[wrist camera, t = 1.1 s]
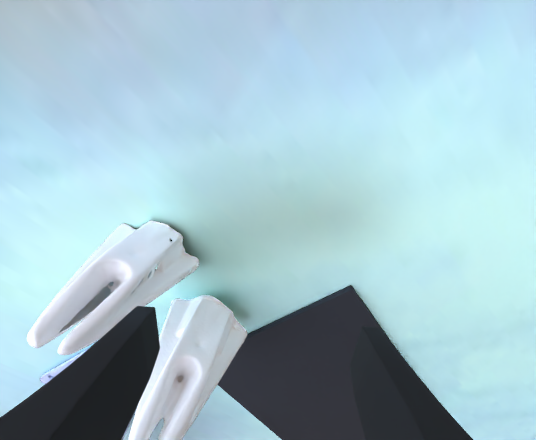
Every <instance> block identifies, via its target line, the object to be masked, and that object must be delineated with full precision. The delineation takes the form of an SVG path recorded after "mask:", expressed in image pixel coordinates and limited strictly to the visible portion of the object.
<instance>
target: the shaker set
mask: <svg viewBox="0 0 536 440" xmlns="http://www.w3.org/2000/svg"><path fill="white" fill-rule="evenodd" d="M170 240H172V242H170ZM182 242H183V236H182V235H181V234H180V233H178V232H176V231H175V230H174V229H172V228H171V227H169V225H168V224H164V223H160V222H157V223H156V222H155V221H151V220H150V221H149V222H147V223H145V224H143V225H142V226H141V227H140V228H138V229H134V228H132V227H130V226H128V225H126V224H121V225H119V226H118V228H117V229H115V230H114V231H113V232H112V234H111V235H110V236H109V237H108V238H107V239H106V240H105V241H104V242H103V243H102V244H101V245H100V246H99V247H98V248H97V250H96V251H95V252H94V253H93V254H92V255H91V256H90V257H89V258H88V259H87V261H86V262H85V263H84V264H83V265H82V266H81V267H80V269H79V270H78V271H77V272H76V273H75V274H74V275H73V277H72V278H71V279H70V280H69V281H68V282H67V283H66V284H65V286H64V287H63V288H62V289H61V290H60V291H59V292H58V294H57V295H56V296H55V297H54V299H53V300H52V301H51V303H50V304H49V305H48V307H47V308H46V309H45V310H44V312H43V313H42V314H41V315H40V317H39V318H38V319H37V321H36V322H35V324H34V325H33V327H32V328H31V330H30V331H29V333H28V335H27V341H28V343H29V344H30V345H31V346H32V347H35V348H40V347H42V346H43V345H45V344H47V343H48V342H50V341H51V340H53V339H55V338H56V337H58V336H59V335H61V334H63V333H64V332H66V331H67V330H69V329H70V328H71V327H73V326H74V325H76V324H77V323H79V322H80V321H81V320H83V319H84V318H85V319H84V320H83V321H81V322H80V323H79V324H78V325H77V326H76V327H75V328H74V329H73V330H72V331H71V332H70V333H69V334H68V335H67V336H66V337H65V339H64V340H63V341H62V342H61V344H60V346H59V348H58V353H59V354H60V355H69V354H72V353H75V352H77V351H79V350H81V349H83V348H85V347H87V346H89V345H90V344H92V343H94V342H96V341H97V340H99V339H100V338H102V337H103V336H104V335H105V334H106V333H107V332H108V331H110V330H111V329H112V328H113V327H114V326H115V325H116V324H117V323H118V322H120V321H121V320H122V319H123V318H124V317H125V316H126V315H127V314H128V313H130V312H131V311H132V310H133V309H134V308H135V307H137V306H146V305H147V304H149V303H150V302H151V301H153V300H154V299H156V298H157V297H159V296H160V295H162V294H163V293H164V292H166V291H167V290H169V289H170V288H171V287H173V286H174V285H175V284H177V283H178V282H180V281H181V280H183V279H184V278H185V277H186V276H188V275H190V274H191V273H193V272H194V271H195V270H196V268H197V267H199V266H198V265H199V260H198V258H197V257H194V256H191V255H189V254H188V253H186V252H185V248H184V247H183V245H182ZM158 262H159V263H158ZM157 264H158V267H157V269H155V268H156V266H157ZM170 306H171V307H170V309H169V312H168V315H167V317H166V320H165V323H164V326H163V329H162V331H161V334H160V337H159V343H160V350H159V353H158V356H157V359H156V362H155V365H154V368H153V371H152V374H151V377H150V379H149V382H148V384H147V386H146V388H145V390H144V392H143V395H142V397H141V399H140V401H139V403H138V406H137V409H136V413H135V417H134V420H133V423H132V427H131V431H130V435H129V439H128V440H148V439H149V438H150V436H151V434H152V432H153V430H154V429H155V427H156V425H157V424H158V422H159V421H160V420H161V419H162V418H163V419H164V425H163V428H162V430H161V433H160V435H159V438H158V440H182V438H183V437H184V435H185V433H186V432H187V431H188V429H189V428H190V426H191V425H192V423H193V422H194V420H195V419H196V417H197V415H198V414H199V412H200V411H201V409H202V408H203V406H204V404H205V403H206V401H207V400H208V398H209V396H210V395H211V393H212V392H213V390H214V389H215V387H216V386H217V384H218V383H219V381H220V379H221V378H222V376H223V375H224V373H225V371H226V370H227V368H228V366H229V365H230V363H231V361H232V360H233V358H234V356H235V355H236V353H237V351H238V350H239V348H240V347H241V345H242V344H243V343H244V340H245V338H246V337H247V331H246V329H245V328H244V327H243V326H242V325H241V324H240V323H239V322H238V321H237V320H236V318H235V317H234V314H233V311H232V310H230V309H229V308H228V307H227V306H225V305H224V304H223V303H222V302H221V301H220V300H218V299H217V298H215V297H213V296H209V295H200V296H198V297H196V298H193V299H190V300H185V299H180V298H177V299H174V300H173V301H172V302H171V305H170Z"/></svg>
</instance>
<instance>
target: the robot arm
mask: <svg viewBox="0 0 536 440" xmlns="http://www.w3.org/2000/svg"><path fill="white" fill-rule="evenodd" d="M159 350H160V343H159V335H158V328H157V320H156V312H155V307H144V306H137V307H135V308H134V309H133V310H132V311H131V312H130V313H128V314H127V315H126V316H125V317H124V318H123V319H122V320H121V321H120V322H118V323H117V324H116V325H115V326H114V327H113V328H112V329H111V330H110V331H108V332H107V333H106V334H105V335H104V336H103V337H102V338H101V339H99V340H98V341H97V342H96V343H95V344H94V345H92V346H91V347H90V348H89V349H87V350H85V351H83V352H82V353H80V354H78V355H76V356H75V357H73V358H71V359H69V360H68V361H66V362H64V363H62V364H61V365H59V366H57V367H55V368H54V369H52V370H50V371H48V372H47V373H45V374H43V375H42V376H41V378H40V381H41V382H42V383H44V384H45V385H44V386H42V387H41V388H40V389H39V390H37V391H36V392H35V393H33V394H32V395H31V396H29V397H28V398H27V399H25V400H24V401H23V402H21V403H20V404H19V405H17V406H16V407H14V408H13V409H12V410H10V411H9V412H7V413H6V414H5V415H3V416H2V417H0V440H123V438H124V436H125V433H126V431H127V429H128V426H129V424H130V422H131V420H132V417H133V415H134V413H135V410H136V408H137V406H138V403H139V401H140V399H141V397H142V395H143V392H144V390H145V388H146V386H147V384H148V382H149V379H150V377H151V374H152V371H153V368H154V365H155V362H156V359H157V356H158V353H159ZM350 372H351V379H352V385H353V392H354V398H355V402H356V405H357V409H358V413H359V417H360V421H361V425H362V428H363V432H364V436H365V440H473V439H472V438H471V437H470V436H469V435H468V434H467V433H466V431H465V430H464V429H463V428H462V427H461V426H460V425H459V424H458V423H457V421H456V420H455V419H454V418H453V417H452V416H451V415H450V414H449V413H448V411H447V410H446V409H445V408H444V407H443V406H442V405H441V403H440V402H439V401H438V400H437V399H436V398H435V396H434V395H433V394H432V393H431V392H430V390H429V389H428V388H427V387H426V385H425V384H424V383H423V382H422V381H421V379H420V378H419V377H418V376H417V375H416V373H415V372H414V371H413V370H412V368H411V367H410V366H409V364H408V363H407V362H406V361H405V359H404V358H403V357H402V356H401V354H400V353H399V352H398V350H397V349H396V348H395V347H394V345H393V344H392V343H391V341H390V340H389V339H388V338H387V336H386V335H385V334H384V332H383V331H382V330H381V329H380V328H377V327H366V326H362V329H361V332H360V335H359V338H358V341H357V344H356V347H355V350H354V353H353V356H352V359H351V362H350Z"/></svg>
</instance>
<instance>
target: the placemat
mask: <svg viewBox="0 0 536 440" xmlns="http://www.w3.org/2000/svg"><path fill="white" fill-rule="evenodd" d="M362 326H366V327H377V328H380V329H381V330H382V328H381V327H380V325H379V324H378V323H377V321H376V320H375V318H374V317H373V316H372V314H371V313H370V311H369V310H368V308H367V307H366V306H365V304H364V303H363V301H362V300H361V298H360V297H359V296H358V294H357V293H356V291H355V290H354V288H353V287H352V286H349V287H346V288H344V289H342V290H340V291H338V292H336V293H334V294H332V295H330V296H328V297H325V298H323V299H321V300H319V301H317V302H315V303H313V304H311V305H309V306H306V307H304V308H302V309H300V310H298V311H296V312H294V313H292V314H290V315H288V316H285V317H283V318H281V319H279V320H277V321H275V322H273V323H271V324H269V325H266V326H264V327H262V328H260V329H258V330H256V331H254V332H252V333H250V334H248V335H247V337H246V338H245V340H244V343H243V344H242V345H241V347H240V348H239V350H238V351H237V353H236V355H235V356H234V358H233V360H232V361H231V363H230V365H229V366H228V368H227V370H226V371H225V373H224V375H223V376H222V378H221V379H220V381H219V383H218V385H219V386H220V387H221V388H222V389H223V390H225V391H226V392H227V393H228V394H229V395H230V396H232V397H233V398H234V399H235V400H236V401H237V402H239V403H240V404H241V405H242V406H243V407H244V408H246V409H247V410H248V411H249V412H250V413H251V414H253V415H254V416H255V417H256V418H257V419H259V420H260V421H261V422H262V423H263V424H264V425H266V426H267V427H268V428H269V429H270V430H271V431H273V432H274V433H275V434H276V435H277V436H278V437H280V438H281V439H282V440H365V436H364V432H363V428H362V425H361V421H360V417H359V413H358V409H357V405H356V402H355V398H354V392H353V385H352V379H351V372H350V362H351V359H352V356H353V353H354V350H355V347H356V344H357V341H358V338H359V335H360V332H361V329H362ZM382 331H383V330H382ZM383 332H384V331H383ZM384 334H385V333H384ZM385 335H386V334H385ZM386 336H387V335H386ZM387 338H388V337H387ZM388 339H389V338H388Z"/></svg>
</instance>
